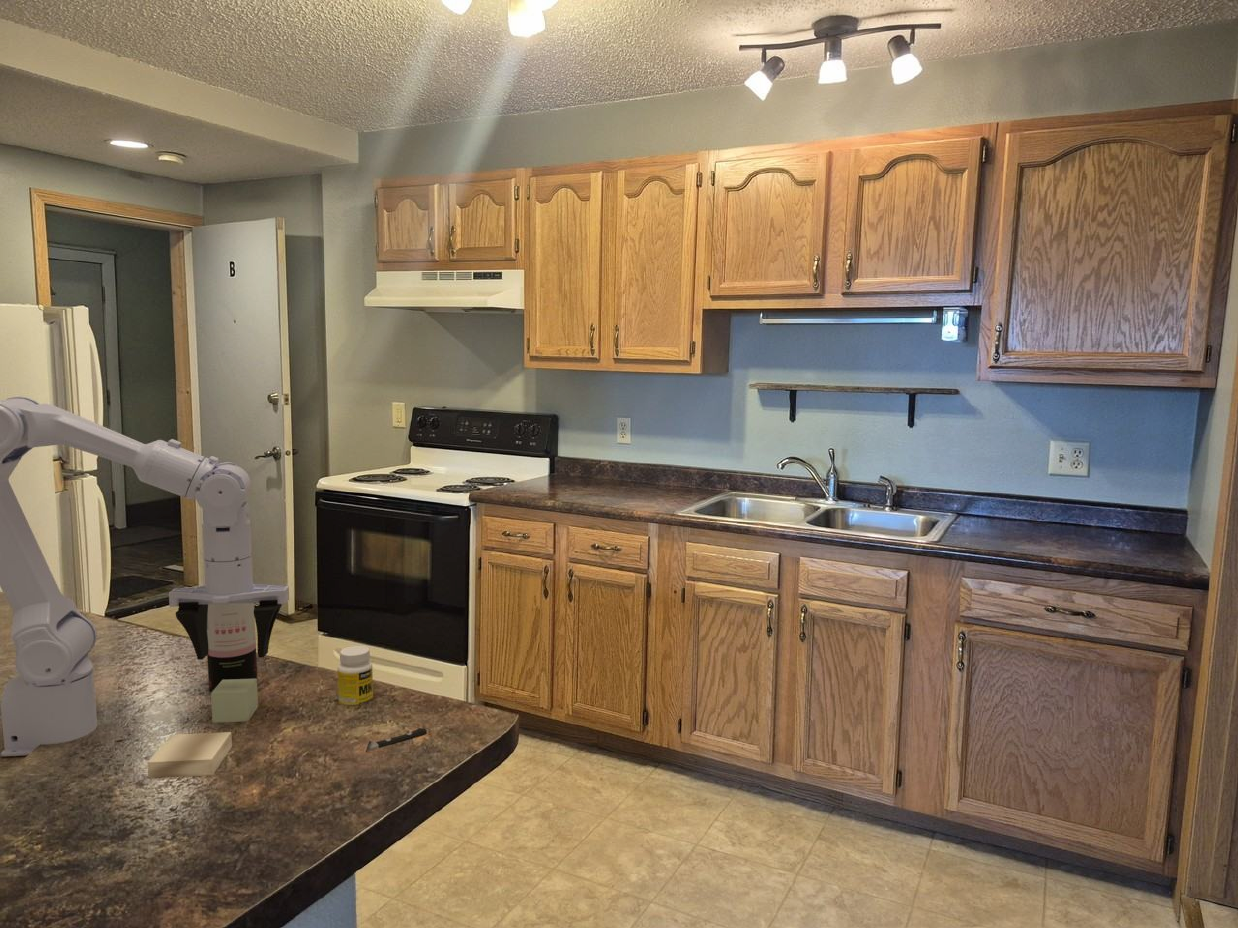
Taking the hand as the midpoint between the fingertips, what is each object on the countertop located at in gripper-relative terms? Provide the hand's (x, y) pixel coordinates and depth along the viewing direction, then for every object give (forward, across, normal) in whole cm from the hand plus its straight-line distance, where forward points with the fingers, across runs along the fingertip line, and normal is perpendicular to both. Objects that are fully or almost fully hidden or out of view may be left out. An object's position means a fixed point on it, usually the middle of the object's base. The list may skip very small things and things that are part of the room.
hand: (233, 655), depth 111 cm
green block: (+10, 0, 0) cm, 10 cm away
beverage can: (+10, -4, +12) cm, 16 cm away
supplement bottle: (+10, +15, +4) cm, 18 cm away
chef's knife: (+10, +17, -9) cm, 22 cm away
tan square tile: (+8, -1, -13) cm, 15 cm away
